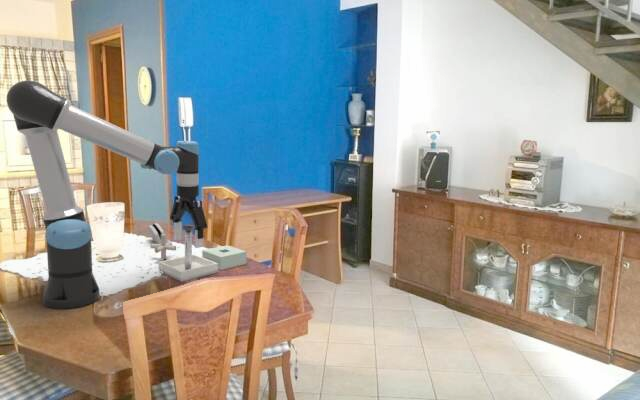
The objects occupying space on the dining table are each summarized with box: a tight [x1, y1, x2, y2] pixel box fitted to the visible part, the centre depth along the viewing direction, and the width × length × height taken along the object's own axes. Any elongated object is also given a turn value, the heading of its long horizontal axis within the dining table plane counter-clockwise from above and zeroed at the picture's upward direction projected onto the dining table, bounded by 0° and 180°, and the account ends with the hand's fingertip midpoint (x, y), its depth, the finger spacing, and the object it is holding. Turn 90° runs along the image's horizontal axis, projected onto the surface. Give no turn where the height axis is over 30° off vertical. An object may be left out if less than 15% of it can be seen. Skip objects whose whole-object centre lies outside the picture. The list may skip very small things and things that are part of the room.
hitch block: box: [201, 244, 247, 271], centre depth 183 cm, size 12×12×5 cm
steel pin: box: [182, 224, 195, 270], centre depth 170 cm, size 4×4×16 cm
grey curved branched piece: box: [147, 222, 174, 246], centre depth 207 cm, size 17×5×10 cm, turn 31°
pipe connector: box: [150, 233, 177, 260], centre depth 184 cm, size 10×10×10 cm
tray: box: [158, 254, 219, 283], centre depth 172 cm, size 15×15×4 cm
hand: (188, 243), depth 170 cm, fingers open, 13 cm apart
